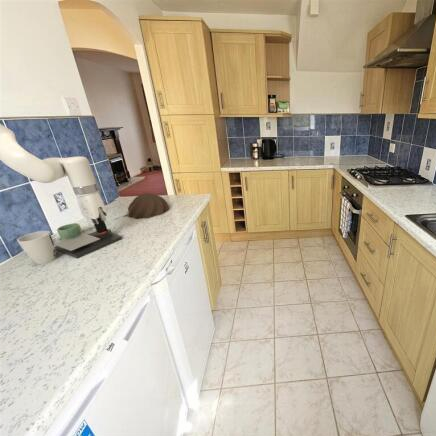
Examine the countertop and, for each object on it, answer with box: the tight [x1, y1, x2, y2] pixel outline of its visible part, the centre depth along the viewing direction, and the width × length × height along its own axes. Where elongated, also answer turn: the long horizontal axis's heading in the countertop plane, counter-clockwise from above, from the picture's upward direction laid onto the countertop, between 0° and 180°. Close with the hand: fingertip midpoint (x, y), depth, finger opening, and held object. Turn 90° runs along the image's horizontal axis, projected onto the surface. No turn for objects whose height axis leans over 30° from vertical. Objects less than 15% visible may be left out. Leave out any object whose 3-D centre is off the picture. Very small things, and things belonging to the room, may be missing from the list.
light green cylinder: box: [56, 222, 84, 241], centre depth 102 cm, size 7×7×6 cm
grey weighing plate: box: [54, 232, 100, 251], centre depth 94 cm, size 12×10×1 cm
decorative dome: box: [127, 192, 170, 220], centre depth 128 cm, size 19×20×10 cm
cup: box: [17, 230, 57, 265], centre depth 86 cm, size 8×8×10 cm
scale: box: [54, 228, 123, 259], centre depth 98 cm, size 16×16×3 cm
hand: (102, 231), depth 101 cm, fingers closed
